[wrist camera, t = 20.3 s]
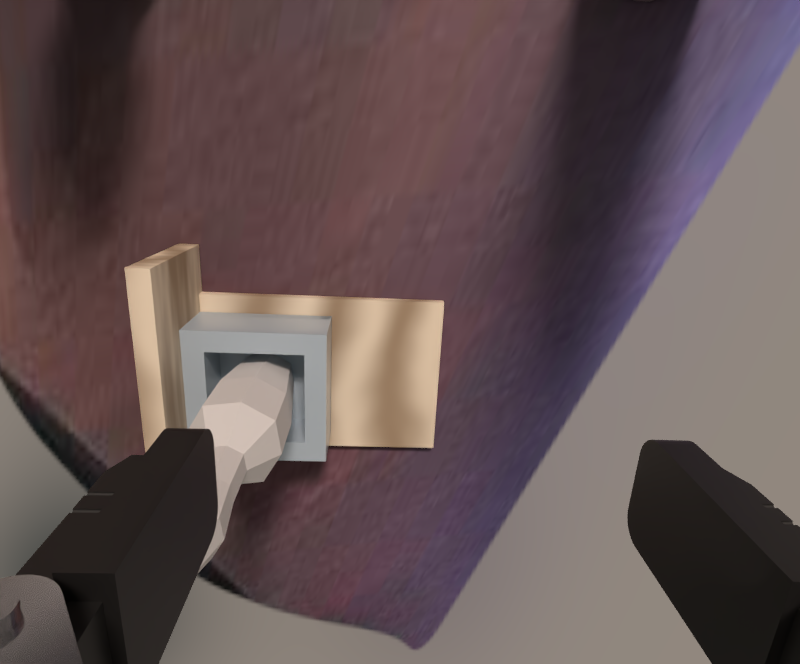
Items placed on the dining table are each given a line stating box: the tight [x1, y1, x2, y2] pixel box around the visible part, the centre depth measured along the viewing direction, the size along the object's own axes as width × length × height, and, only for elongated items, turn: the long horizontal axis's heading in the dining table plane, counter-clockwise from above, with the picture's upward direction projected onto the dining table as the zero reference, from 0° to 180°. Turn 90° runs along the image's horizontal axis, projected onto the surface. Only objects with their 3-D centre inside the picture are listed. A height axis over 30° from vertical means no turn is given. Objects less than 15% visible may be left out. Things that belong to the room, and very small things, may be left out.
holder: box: [179, 312, 332, 461], centre depth 44 cm, size 11×11×5 cm
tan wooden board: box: [125, 244, 444, 453], centre depth 43 cm, size 22×22×10 cm
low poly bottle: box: [189, 354, 294, 573], centre depth 35 cm, size 6×6×22 cm
